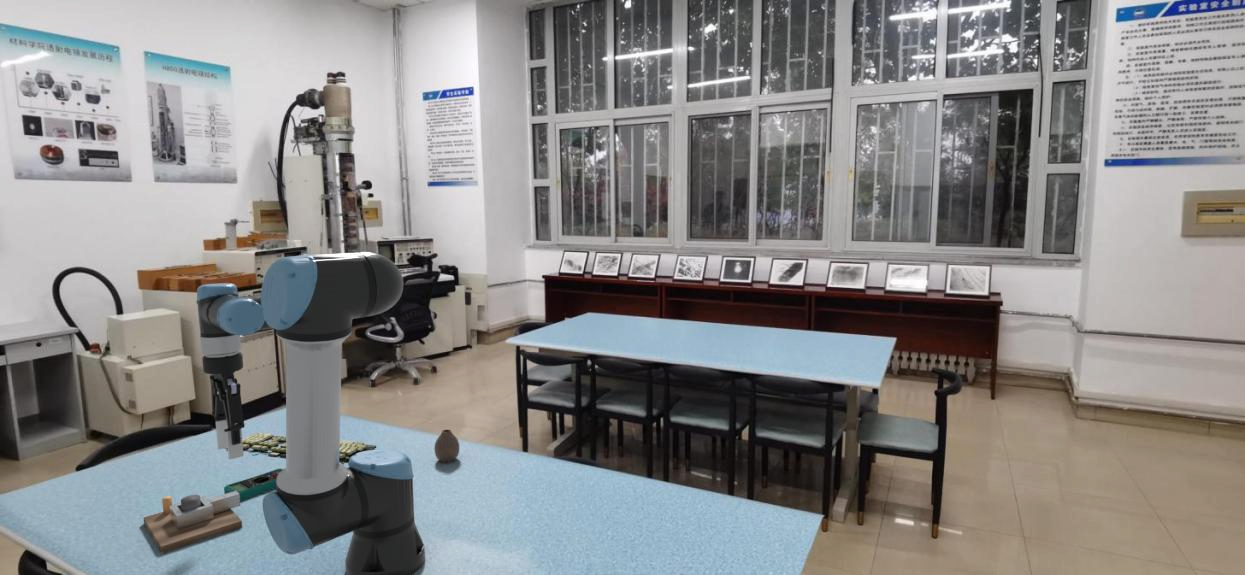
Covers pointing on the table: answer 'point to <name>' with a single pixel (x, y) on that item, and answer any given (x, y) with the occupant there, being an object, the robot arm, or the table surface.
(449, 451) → the vase
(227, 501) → the grey frame piece
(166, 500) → the dowel pin
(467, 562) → the table surface
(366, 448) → the keyboard
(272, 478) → the digital multimeter
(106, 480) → the table surface
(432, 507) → the table surface
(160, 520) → the board
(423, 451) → the table surface
